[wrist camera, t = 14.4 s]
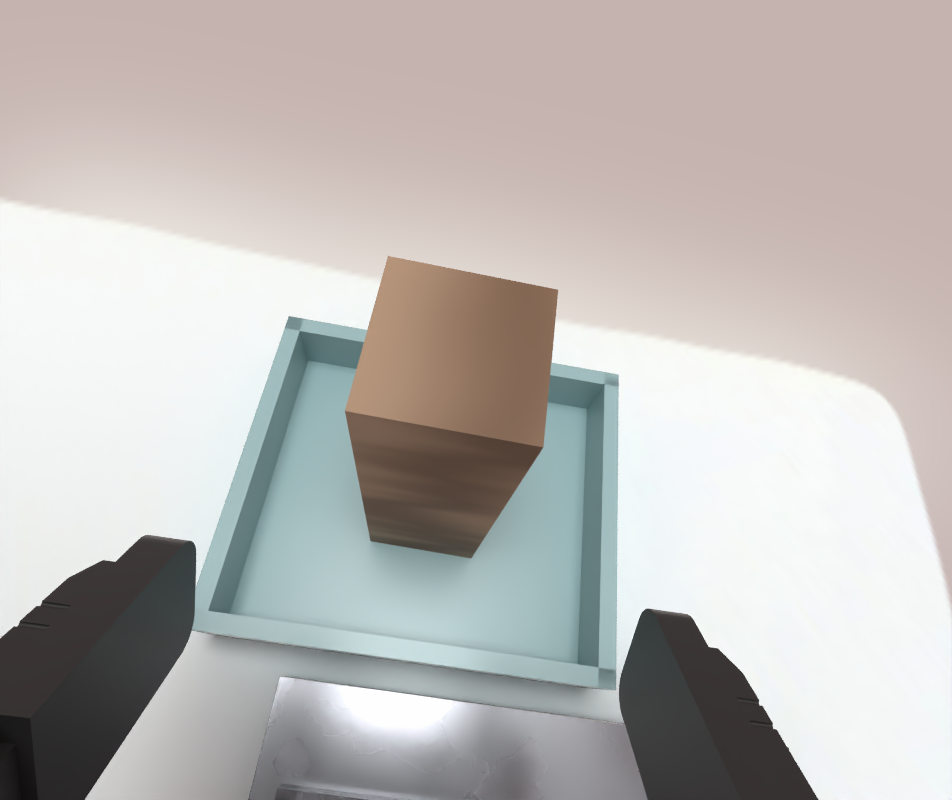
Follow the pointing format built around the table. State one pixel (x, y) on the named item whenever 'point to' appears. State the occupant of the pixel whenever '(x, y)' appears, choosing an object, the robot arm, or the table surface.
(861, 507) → the table surface
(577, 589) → the tray
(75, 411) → the table surface
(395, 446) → the tall brown wooden block
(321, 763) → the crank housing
